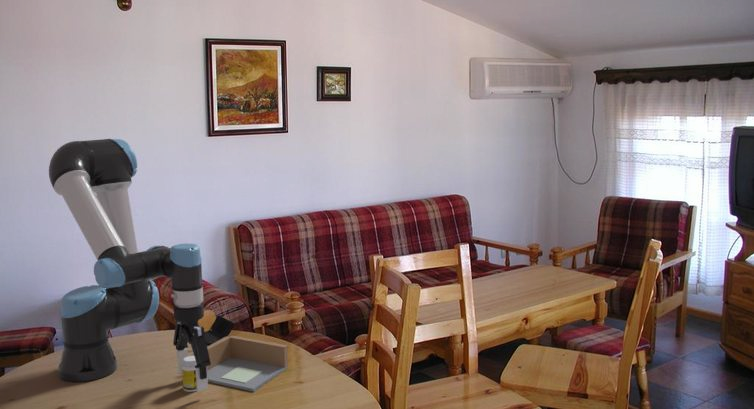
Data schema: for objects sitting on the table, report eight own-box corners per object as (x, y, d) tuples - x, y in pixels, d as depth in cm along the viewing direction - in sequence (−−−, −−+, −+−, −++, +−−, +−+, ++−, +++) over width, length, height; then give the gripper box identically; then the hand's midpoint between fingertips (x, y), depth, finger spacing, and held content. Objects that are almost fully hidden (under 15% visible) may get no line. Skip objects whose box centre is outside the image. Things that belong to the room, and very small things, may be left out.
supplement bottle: (196, 393, 183) (195, 362, 181) (179, 391, 183) (178, 361, 182) (204, 385, 187) (203, 355, 186) (188, 383, 188) (186, 354, 187)
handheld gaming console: (187, 333, 221) (205, 306, 224) (202, 341, 227) (219, 314, 229) (209, 347, 214) (227, 319, 217) (224, 355, 220) (241, 327, 222)
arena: (192, 378, 191) (191, 355, 190) (229, 356, 207) (229, 334, 205) (253, 391, 183) (252, 367, 182) (287, 368, 198) (287, 345, 197)
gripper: (158, 295, 189) (162, 369, 193) (192, 318, 169) (196, 401, 172) (185, 290, 193) (189, 363, 197) (221, 312, 173) (225, 393, 177)
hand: (192, 381), depth 185 cm, fingers open, 13 cm apart
